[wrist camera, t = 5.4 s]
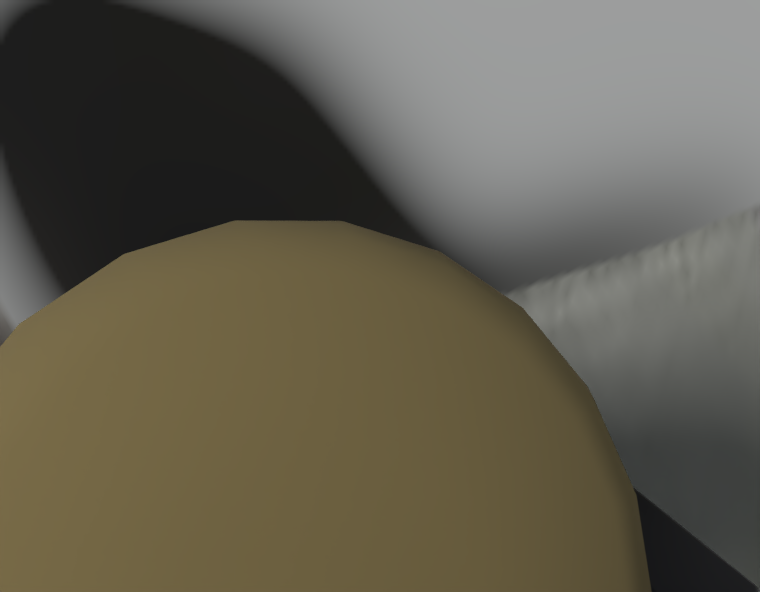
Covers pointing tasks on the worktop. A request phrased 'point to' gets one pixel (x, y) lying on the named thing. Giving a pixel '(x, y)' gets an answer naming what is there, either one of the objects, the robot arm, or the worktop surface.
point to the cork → (302, 429)
